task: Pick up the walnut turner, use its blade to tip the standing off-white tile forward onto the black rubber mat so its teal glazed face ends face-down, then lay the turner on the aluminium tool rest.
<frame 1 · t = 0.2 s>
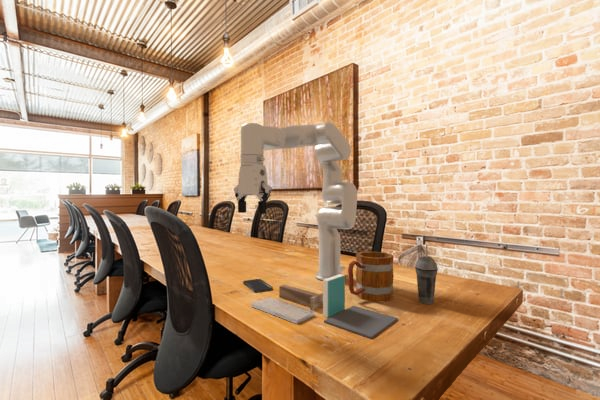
hand: (251, 213, 99), 31 cm above the table, tool pointing down, fingers open, 9 cm apart
tile: (334, 312, 93), on the table
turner: (300, 302, 102), on the table
beverage cup: (426, 302, 103), on the table
phone: (257, 287, 120), on the table
mat: (361, 320, 87), on the table
tool rest: (281, 311, 94), on the table
mug: (368, 297, 107), on the table
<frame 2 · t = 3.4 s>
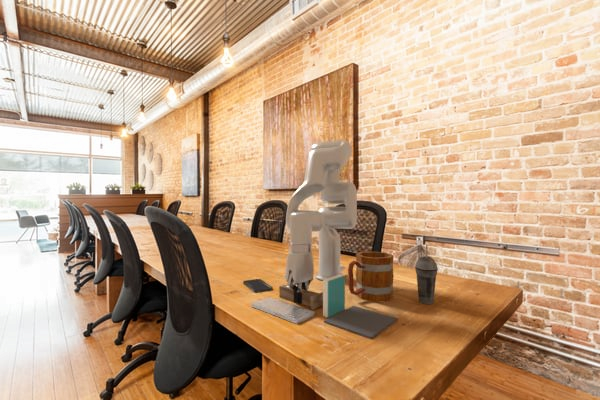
hand: (300, 301, 102), 0 cm above the table, tool pointing down, fingers closed on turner, 2 cm apart
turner: (300, 301, 102), on the table, touching gripper
everything else where it was.
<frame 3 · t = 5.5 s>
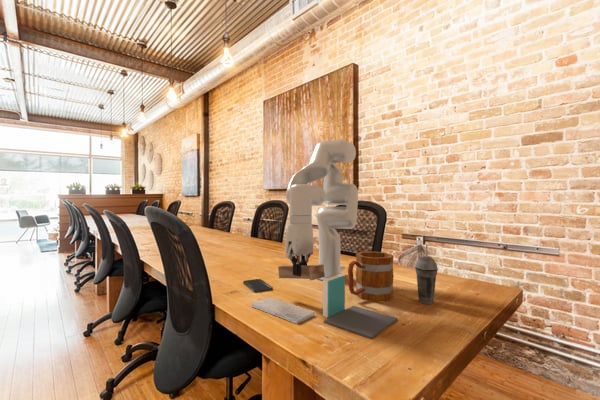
hand: (299, 274, 102), 10 cm above the table, tool pointing down, fingers closed on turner, 2 cm apart
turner: (300, 277, 101), point 8 cm above the table, tilted 9°, touching gripper
everything else where it was.
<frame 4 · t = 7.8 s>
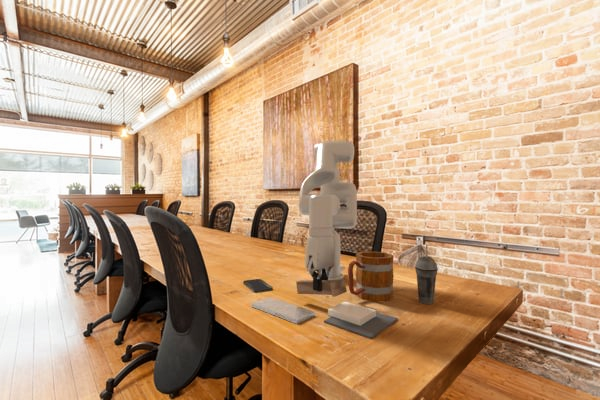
hand: (320, 289, 96), 6 cm above the table, tool pointing down, fingers closed on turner, 2 cm apart
tile: (336, 308, 92), point 1 cm above the table, tilted 90°, touching mat
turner: (320, 293, 96), point 5 cm above the table, tilted 11°, touching gripper
everything else where it was.
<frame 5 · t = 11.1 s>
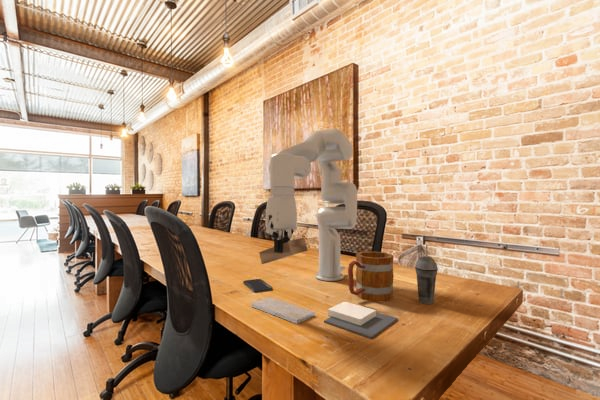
hand: (282, 251, 94), 19 cm above the table, tool pointing down, fingers closed on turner, 2 cm apart
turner: (282, 257, 94), point 17 cm above the table, tilted 20°, touching gripper
everything else where it was.
when the fingers open (3 cm above the table, at t = 14.2 s): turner stays where it is, resting on tool rest.
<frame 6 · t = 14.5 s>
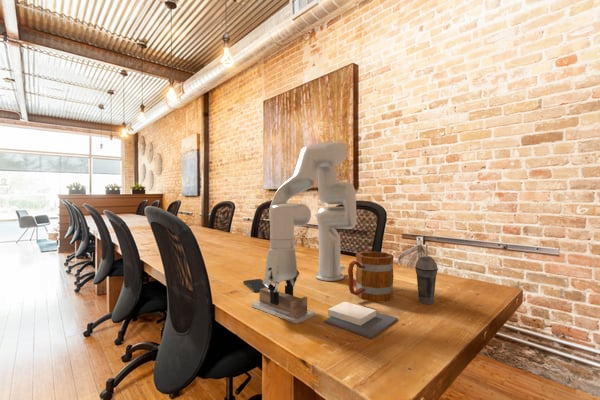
hand: (281, 300, 94), 3 cm above the table, tool pointing down, fingers open, 5 cm apart
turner: (281, 306, 94), point 1 cm above the table, touching tool rest
everything else where it was.
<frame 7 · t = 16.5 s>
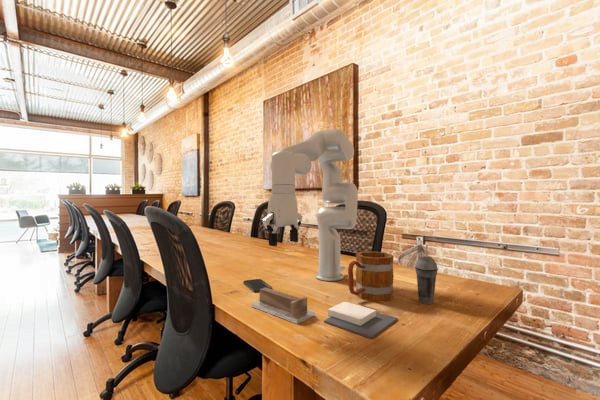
hand: (283, 243, 96), 21 cm above the table, tool pointing down, fingers open, 9 cm apart
nothing on the table moved.
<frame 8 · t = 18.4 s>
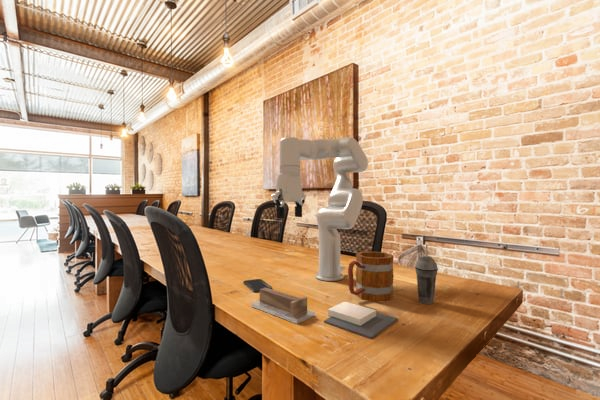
hand: (289, 217, 111), 28 cm above the table, tool pointing down, fingers open, 9 cm apart
nothing on the table moved.
at the end: tile tilted 90°; tile touching mat; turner inside the target area on the tool rest (0.4 cm from its centre), point 1.2 cm above the tool rest's base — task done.
